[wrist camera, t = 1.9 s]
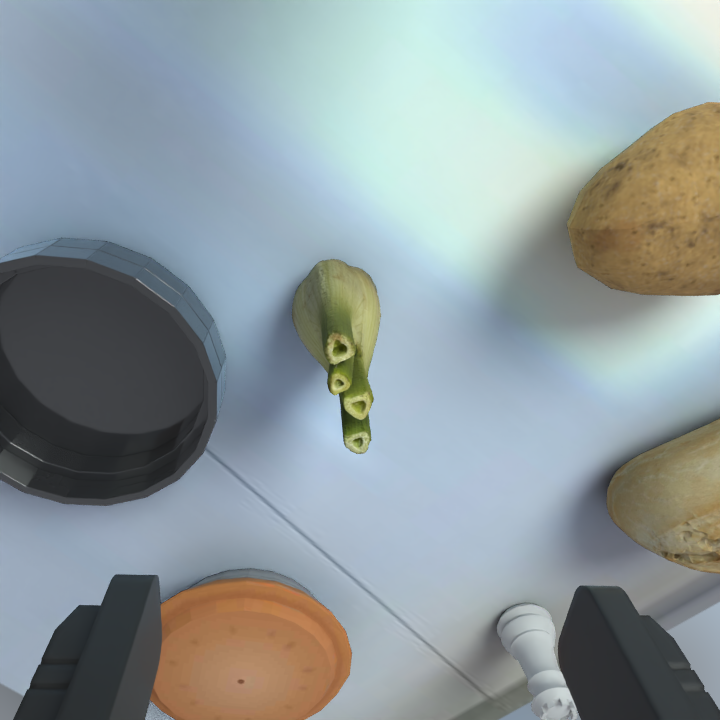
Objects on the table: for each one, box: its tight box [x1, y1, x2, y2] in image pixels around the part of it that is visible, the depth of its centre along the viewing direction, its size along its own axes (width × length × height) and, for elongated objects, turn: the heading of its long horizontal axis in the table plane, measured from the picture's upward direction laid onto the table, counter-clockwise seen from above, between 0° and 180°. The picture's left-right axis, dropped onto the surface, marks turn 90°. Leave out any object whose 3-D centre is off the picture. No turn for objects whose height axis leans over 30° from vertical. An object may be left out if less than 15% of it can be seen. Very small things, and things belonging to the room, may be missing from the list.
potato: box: [567, 102, 720, 296], centre depth 30 cm, size 10×14×8 cm
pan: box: [0, 238, 226, 506], centre depth 34 cm, size 15×15×4 cm
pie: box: [150, 569, 352, 720], centre depth 44 cm, size 15×16×5 cm
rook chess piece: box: [497, 603, 577, 720], centre depth 44 cm, size 4×4×8 cm
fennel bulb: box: [292, 259, 381, 454], centre depth 30 cm, size 6×5×12 cm
